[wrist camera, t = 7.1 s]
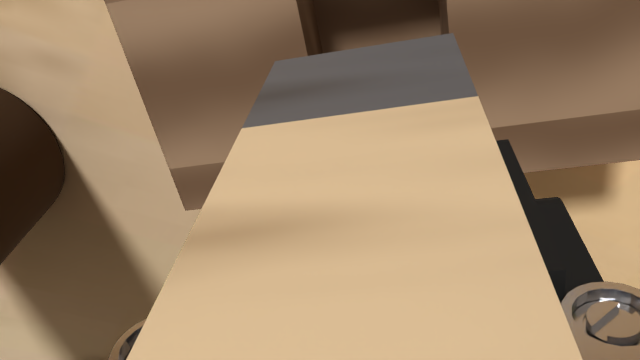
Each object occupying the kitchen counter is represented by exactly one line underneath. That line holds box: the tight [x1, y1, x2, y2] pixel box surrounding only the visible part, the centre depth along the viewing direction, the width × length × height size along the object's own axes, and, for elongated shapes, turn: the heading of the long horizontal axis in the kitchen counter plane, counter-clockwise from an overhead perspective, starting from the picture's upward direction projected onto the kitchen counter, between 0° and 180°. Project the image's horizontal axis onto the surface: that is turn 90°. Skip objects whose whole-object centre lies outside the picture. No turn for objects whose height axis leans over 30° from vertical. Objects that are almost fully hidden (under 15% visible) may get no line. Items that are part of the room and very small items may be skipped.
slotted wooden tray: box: [104, 0, 640, 211], centre depth 23 cm, size 12×20×6 cm, turn 101°
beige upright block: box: [126, 33, 583, 360], centre depth 10 cm, size 6×4×9 cm, turn 11°
